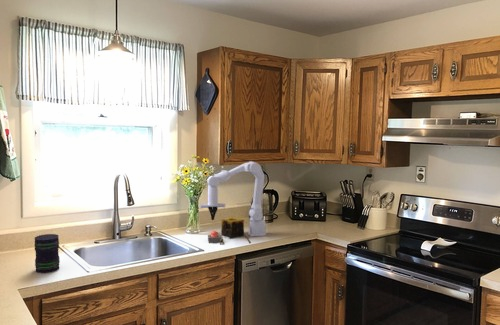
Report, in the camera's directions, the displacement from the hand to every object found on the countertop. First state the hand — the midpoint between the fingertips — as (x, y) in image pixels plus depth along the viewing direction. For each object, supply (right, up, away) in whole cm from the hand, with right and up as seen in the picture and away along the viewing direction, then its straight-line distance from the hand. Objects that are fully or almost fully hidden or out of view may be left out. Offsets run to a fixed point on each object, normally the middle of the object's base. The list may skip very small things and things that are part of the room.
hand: (212, 219), depth 244 cm
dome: (+2, -10, -8) cm, 13 cm away
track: (+12, -11, -1) cm, 16 cm away
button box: (+2, -11, -8) cm, 14 cm away
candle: (+11, -11, +5) cm, 16 cm away
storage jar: (-69, -15, -57) cm, 91 cm away
